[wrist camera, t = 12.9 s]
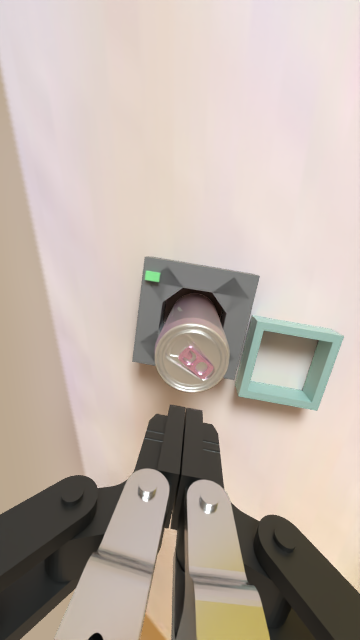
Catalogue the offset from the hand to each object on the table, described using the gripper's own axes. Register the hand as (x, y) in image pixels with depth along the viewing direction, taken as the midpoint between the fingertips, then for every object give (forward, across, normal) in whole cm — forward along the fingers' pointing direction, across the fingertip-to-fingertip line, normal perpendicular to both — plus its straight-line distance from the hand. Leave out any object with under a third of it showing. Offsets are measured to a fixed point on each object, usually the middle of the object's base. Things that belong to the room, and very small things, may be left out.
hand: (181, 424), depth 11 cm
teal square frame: (+22, -13, +4) cm, 26 cm away
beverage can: (+22, 0, 0) cm, 23 cm away
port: (+22, 0, 0) cm, 22 cm away
